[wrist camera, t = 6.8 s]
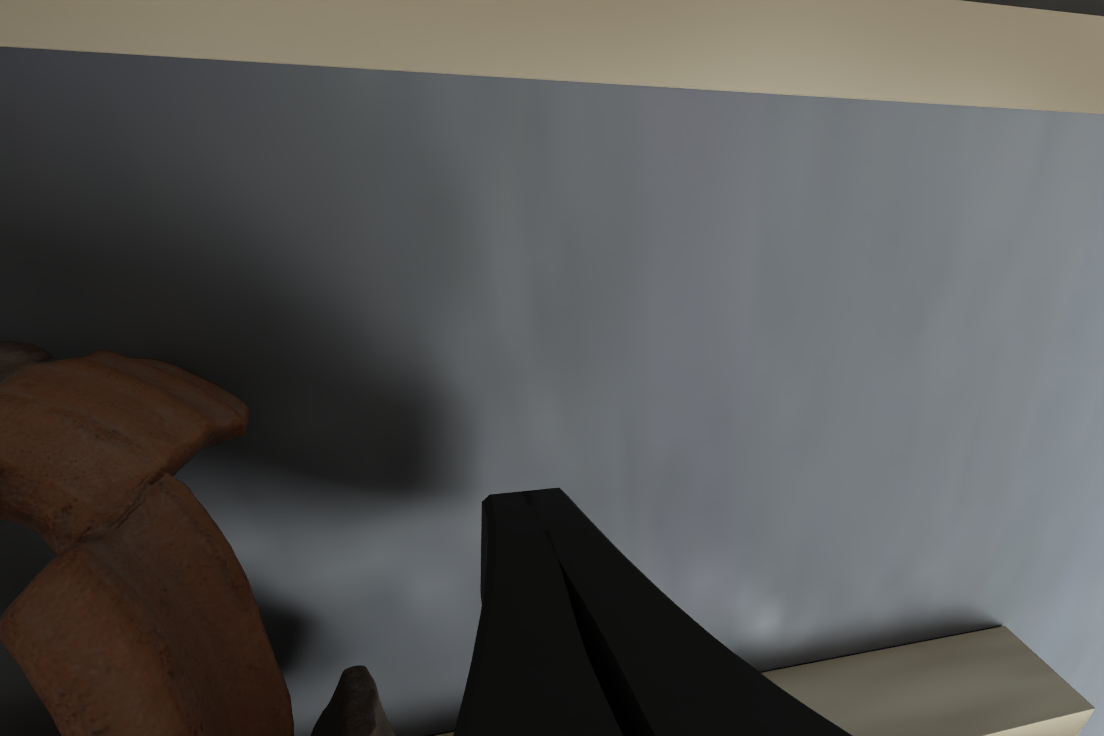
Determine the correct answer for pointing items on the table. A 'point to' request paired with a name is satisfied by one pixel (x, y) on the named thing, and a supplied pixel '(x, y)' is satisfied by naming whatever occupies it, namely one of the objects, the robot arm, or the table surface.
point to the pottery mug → (138, 559)
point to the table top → (711, 64)
